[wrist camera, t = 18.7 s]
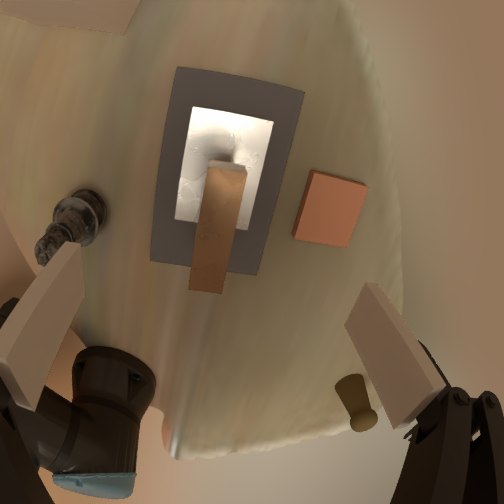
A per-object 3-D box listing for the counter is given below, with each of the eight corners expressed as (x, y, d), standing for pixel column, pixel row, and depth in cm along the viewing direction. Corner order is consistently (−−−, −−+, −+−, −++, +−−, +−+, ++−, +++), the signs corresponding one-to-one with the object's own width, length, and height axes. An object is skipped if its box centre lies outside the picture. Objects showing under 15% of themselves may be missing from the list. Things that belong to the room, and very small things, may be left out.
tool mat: (150, 258, 35) (150, 260, 34) (178, 67, 25) (177, 66, 24) (255, 272, 37) (256, 275, 37) (303, 92, 27) (304, 92, 27)
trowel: (241, 250, 35) (248, 297, 27) (172, 240, 33) (160, 285, 25) (272, 121, 28) (293, 129, 20) (193, 106, 26) (183, 108, 19)
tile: (294, 238, 34) (314, 172, 30) (290, 232, 35) (309, 168, 32) (346, 247, 35) (368, 187, 32) (341, 241, 37) (362, 183, 33)
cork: (350, 371, 50) (370, 417, 41) (368, 377, 52) (388, 420, 43) (328, 389, 52) (344, 435, 43) (347, 394, 55) (363, 436, 45)
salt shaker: (59, 216, 30) (8, 268, 20) (78, 177, 29) (21, 218, 18) (95, 242, 33) (55, 302, 22) (117, 204, 31) (75, 258, 20)
